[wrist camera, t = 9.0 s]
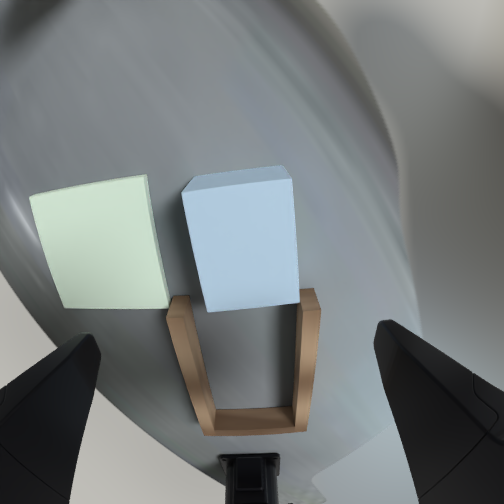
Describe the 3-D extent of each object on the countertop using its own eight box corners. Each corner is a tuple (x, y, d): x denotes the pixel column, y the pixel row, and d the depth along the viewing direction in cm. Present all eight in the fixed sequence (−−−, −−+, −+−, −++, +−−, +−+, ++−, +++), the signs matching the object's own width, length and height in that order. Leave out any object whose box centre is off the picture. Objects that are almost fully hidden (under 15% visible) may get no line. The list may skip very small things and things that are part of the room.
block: (290, 267, 18) (299, 302, 15) (213, 276, 18) (207, 312, 15) (281, 164, 15) (291, 178, 12) (194, 175, 15) (181, 192, 12)
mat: (171, 302, 18) (169, 308, 18) (68, 303, 18) (64, 308, 18) (146, 174, 15) (143, 176, 14) (34, 194, 15) (29, 197, 14)
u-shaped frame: (303, 411, 24) (306, 431, 22) (206, 415, 24) (204, 435, 22) (313, 288, 18) (321, 309, 16) (173, 295, 18) (165, 317, 16)
